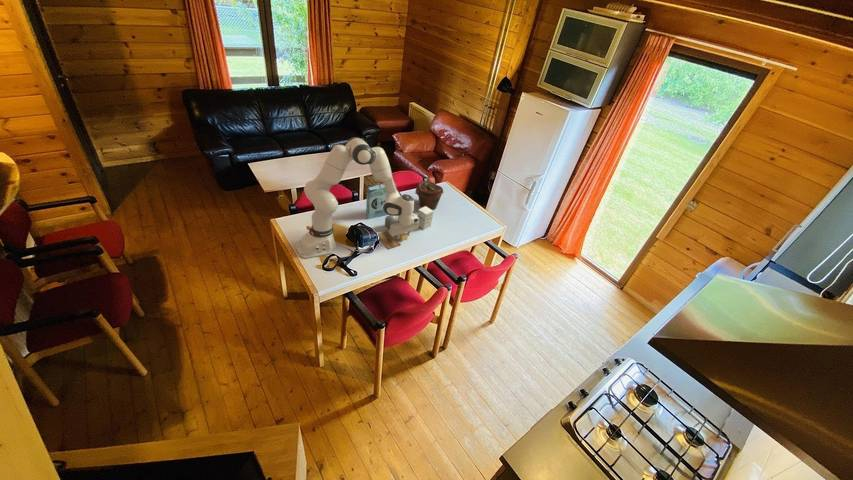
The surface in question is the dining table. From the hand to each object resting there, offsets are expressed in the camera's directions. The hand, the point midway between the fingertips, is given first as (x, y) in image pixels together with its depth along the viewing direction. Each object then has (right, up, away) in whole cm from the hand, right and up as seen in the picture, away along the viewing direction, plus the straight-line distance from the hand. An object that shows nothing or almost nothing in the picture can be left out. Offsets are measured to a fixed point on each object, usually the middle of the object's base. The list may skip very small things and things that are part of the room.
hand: (403, 237), depth 232 cm
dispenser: (-7, +5, +8) cm, 11 cm away
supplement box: (+13, +8, +16) cm, 22 cm away
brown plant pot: (+15, +23, +36) cm, 46 cm away
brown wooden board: (-9, -2, -2) cm, 10 cm away
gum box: (-17, +16, +20) cm, 31 cm away
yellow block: (-3, +1, +4) cm, 5 cm away
